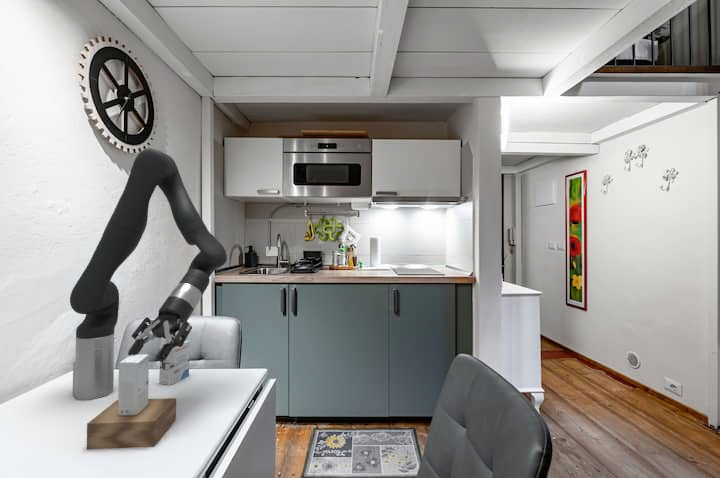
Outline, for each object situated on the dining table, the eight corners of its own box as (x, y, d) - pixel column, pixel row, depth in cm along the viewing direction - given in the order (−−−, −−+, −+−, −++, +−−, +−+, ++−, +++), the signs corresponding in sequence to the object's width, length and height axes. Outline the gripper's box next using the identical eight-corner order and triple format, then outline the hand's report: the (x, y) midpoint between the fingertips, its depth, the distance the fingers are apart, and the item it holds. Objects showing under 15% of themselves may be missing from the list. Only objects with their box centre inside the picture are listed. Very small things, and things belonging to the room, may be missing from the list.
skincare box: (137, 415, 84) (139, 362, 84) (116, 416, 83) (117, 362, 83) (149, 403, 90) (150, 353, 90) (129, 403, 89) (130, 353, 89)
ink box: (177, 374, 125) (177, 339, 125) (190, 375, 124) (190, 340, 124) (158, 384, 116) (159, 346, 116) (172, 385, 115) (173, 347, 115)
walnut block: (86, 451, 80) (87, 423, 80) (117, 424, 92) (117, 399, 92) (154, 448, 81) (155, 421, 81) (175, 421, 93) (176, 398, 93)
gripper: (152, 293, 100) (112, 347, 89) (196, 296, 96) (160, 353, 85) (167, 309, 105) (131, 362, 94) (209, 313, 101) (176, 369, 90)
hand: (144, 358), depth 89 cm, fingers open, 8 cm apart
